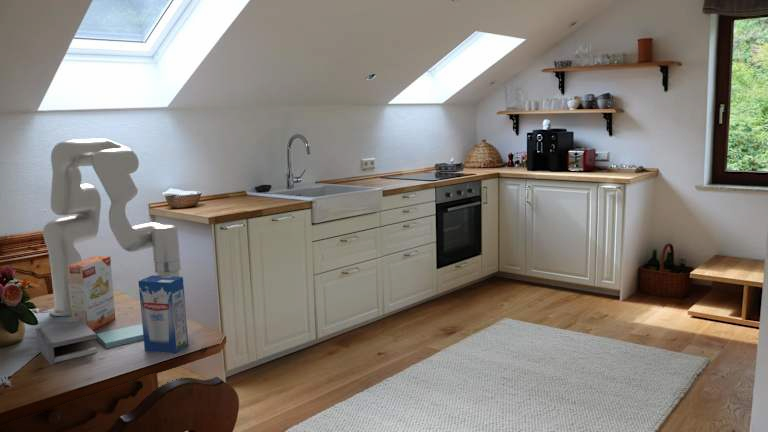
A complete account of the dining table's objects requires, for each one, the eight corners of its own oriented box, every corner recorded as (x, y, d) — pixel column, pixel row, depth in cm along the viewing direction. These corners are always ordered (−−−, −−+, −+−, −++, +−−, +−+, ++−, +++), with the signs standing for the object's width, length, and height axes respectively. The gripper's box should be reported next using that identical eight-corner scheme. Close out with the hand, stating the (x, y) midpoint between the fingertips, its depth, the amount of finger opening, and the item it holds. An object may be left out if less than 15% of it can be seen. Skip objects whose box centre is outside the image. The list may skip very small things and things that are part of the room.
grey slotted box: (38, 348, 186) (35, 329, 185) (83, 338, 193) (81, 319, 193) (50, 364, 174) (47, 344, 173) (97, 353, 181) (95, 333, 180)
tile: (96, 340, 193) (96, 334, 193) (151, 328, 203) (150, 321, 202) (106, 349, 185) (105, 343, 185) (162, 336, 195) (162, 330, 195)
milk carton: (188, 345, 185) (183, 276, 182) (176, 353, 179) (170, 282, 176) (157, 343, 188) (151, 275, 185) (144, 351, 182) (138, 281, 179)
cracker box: (89, 333, 198) (82, 266, 194) (72, 332, 199) (64, 265, 195) (117, 318, 211) (111, 255, 208) (100, 318, 212) (94, 255, 209)
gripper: (146, 263, 202) (151, 321, 205) (163, 272, 190) (169, 333, 193) (170, 259, 207) (175, 315, 210) (188, 268, 195) (193, 327, 198)
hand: (172, 324), depth 201 cm, fingers closed
